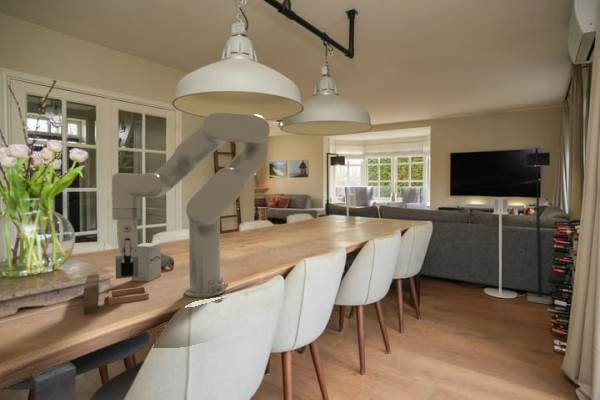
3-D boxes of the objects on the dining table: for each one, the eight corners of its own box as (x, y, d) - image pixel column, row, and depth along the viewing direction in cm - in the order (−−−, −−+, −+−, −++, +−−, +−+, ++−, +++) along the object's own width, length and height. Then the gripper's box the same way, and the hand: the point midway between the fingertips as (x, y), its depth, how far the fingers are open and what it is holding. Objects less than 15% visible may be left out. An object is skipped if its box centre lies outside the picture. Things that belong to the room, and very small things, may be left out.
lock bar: (137, 273, 106) (137, 254, 106) (138, 276, 103) (138, 256, 102) (115, 275, 103) (115, 256, 103) (115, 278, 100) (115, 258, 99)
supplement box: (149, 281, 120) (148, 246, 119) (130, 280, 121) (130, 245, 120) (161, 276, 127) (161, 242, 126) (144, 275, 128) (143, 242, 128)
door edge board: (97, 312, 91) (96, 290, 90) (84, 315, 89) (83, 292, 89) (99, 292, 108) (98, 273, 108) (88, 293, 107) (87, 274, 106)
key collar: (146, 290, 110) (146, 286, 110) (149, 298, 102) (149, 293, 102) (108, 295, 104) (108, 291, 104) (108, 304, 97) (108, 299, 97)
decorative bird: (167, 271, 134) (166, 253, 133) (142, 266, 142) (142, 249, 142) (178, 269, 138) (178, 250, 138) (154, 264, 147) (153, 247, 146)
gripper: (142, 216, 97) (142, 279, 97) (138, 211, 111) (138, 266, 112) (112, 217, 93) (113, 282, 94) (112, 212, 108) (112, 269, 108)
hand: (127, 273), depth 103 cm, fingers closed on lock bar, 4 cm apart
